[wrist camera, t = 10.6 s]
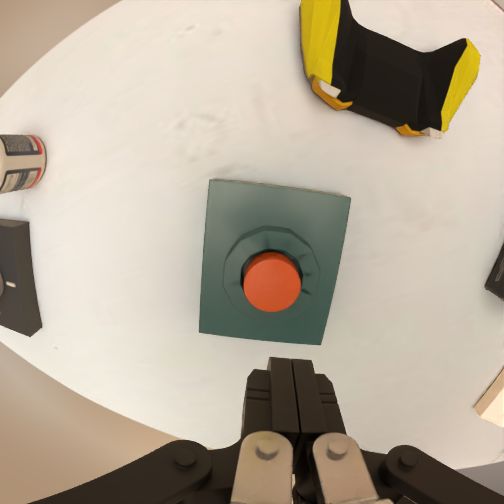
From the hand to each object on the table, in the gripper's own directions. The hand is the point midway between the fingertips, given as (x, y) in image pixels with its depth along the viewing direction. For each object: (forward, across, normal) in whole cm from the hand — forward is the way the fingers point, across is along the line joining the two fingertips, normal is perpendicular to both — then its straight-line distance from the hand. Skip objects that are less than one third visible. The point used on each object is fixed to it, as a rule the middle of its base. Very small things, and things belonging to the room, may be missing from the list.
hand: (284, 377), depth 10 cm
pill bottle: (+14, +24, -7) cm, 29 cm away
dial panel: (+14, +29, +5) cm, 33 cm away
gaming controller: (+14, -7, -17) cm, 23 cm away
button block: (+14, 0, 0) cm, 14 cm away
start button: (+11, 0, 0) cm, 11 cm away
